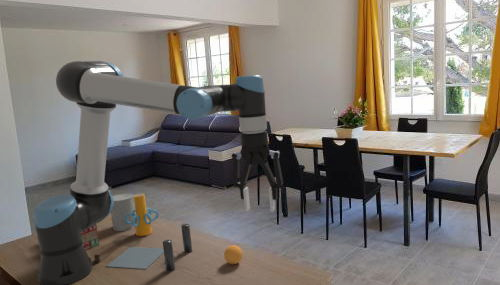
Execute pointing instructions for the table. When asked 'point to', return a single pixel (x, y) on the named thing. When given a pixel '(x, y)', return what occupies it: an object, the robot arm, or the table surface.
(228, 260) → the ball
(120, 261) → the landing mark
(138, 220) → the cylinder
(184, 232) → the post
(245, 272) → the table surface
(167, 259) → the post
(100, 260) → the stopper wall
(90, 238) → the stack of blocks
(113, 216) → the white tapered bucket
